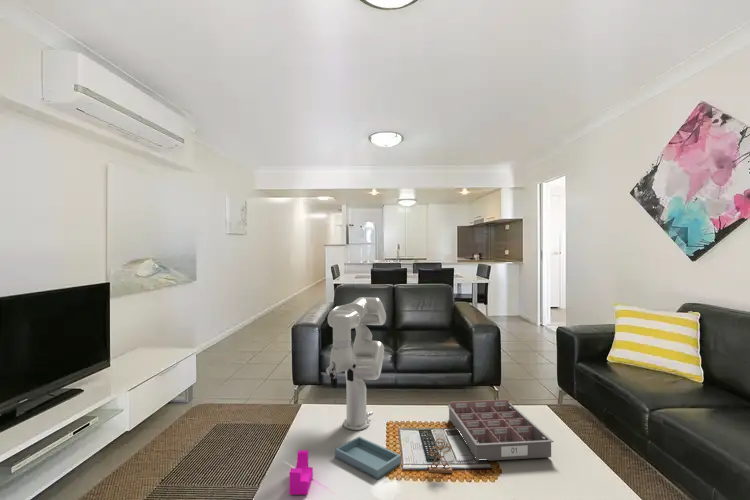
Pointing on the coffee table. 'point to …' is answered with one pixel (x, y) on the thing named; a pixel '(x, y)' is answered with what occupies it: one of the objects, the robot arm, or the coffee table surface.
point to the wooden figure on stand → (437, 469)
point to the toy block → (301, 474)
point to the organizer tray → (498, 430)
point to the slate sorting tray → (368, 457)
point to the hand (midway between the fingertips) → (342, 383)
